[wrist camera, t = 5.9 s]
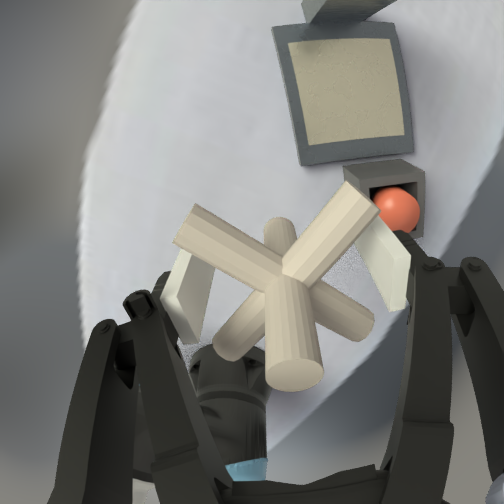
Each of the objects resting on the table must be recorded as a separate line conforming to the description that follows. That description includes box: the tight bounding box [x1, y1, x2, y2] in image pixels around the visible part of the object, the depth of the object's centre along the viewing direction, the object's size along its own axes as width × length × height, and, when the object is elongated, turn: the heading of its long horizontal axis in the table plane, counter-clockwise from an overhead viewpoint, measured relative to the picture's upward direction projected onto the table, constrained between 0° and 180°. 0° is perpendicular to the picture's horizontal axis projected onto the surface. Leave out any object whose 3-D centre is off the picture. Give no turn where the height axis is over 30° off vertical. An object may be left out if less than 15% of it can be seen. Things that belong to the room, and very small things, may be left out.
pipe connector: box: [172, 180, 381, 392], centre depth 13 cm, size 10×10×10 cm
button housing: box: [343, 159, 425, 239], centre depth 31 cm, size 8×8×6 cm
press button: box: [371, 185, 420, 233], centre depth 28 cm, size 5×5×3 cm
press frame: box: [271, 0, 414, 166], centre depth 17 cm, size 19×14×22 cm
